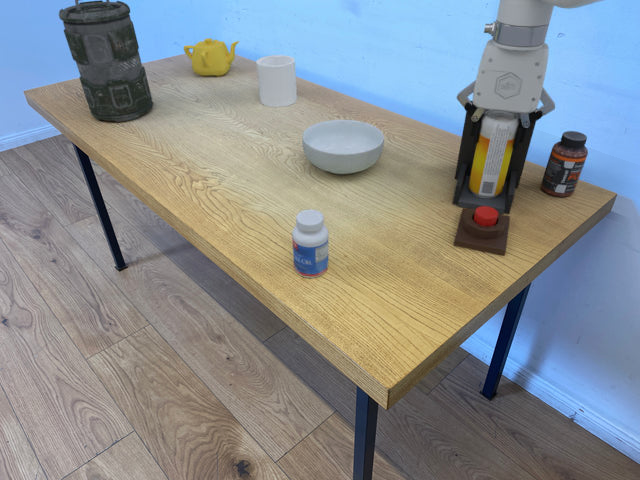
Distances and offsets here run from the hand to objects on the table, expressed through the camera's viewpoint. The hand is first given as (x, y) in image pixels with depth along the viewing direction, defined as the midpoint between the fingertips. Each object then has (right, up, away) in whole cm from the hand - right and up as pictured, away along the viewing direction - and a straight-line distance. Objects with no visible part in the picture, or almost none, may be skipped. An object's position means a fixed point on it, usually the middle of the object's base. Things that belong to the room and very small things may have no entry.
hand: (495, 142), depth 82 cm
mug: (-42, +22, +49) cm, 68 cm away
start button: (-3, -14, -4) cm, 15 cm away
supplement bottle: (+15, -8, +8) cm, 19 cm away
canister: (-83, +17, +44) cm, 96 cm away
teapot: (-64, +36, +68) cm, 100 cm away
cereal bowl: (-26, -1, +18) cm, 31 cm away
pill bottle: (-32, -22, -8) cm, 40 cm away
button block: (-3, -16, -2) cm, 16 cm away
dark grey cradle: (+1, -7, +9) cm, 12 cm away
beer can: (0, -8, +6) cm, 10 cm away
